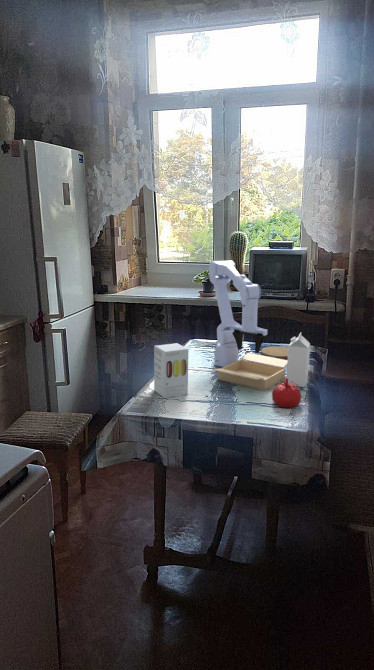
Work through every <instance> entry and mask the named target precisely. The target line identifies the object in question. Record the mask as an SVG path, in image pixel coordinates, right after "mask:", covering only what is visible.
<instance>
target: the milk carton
mask: <svg viewBox="0 0 374 670" xmlns="http://www.w3.org/2000/svg"><path fill="white" fill-rule="evenodd" d="M310 347H311V343H310V342H309V340H308V339H306V338H305V337H304V336H303V335H302V332H300V333H299V334H298V336H297V337H296V336H293V337H292V338H290V343H289V345H288V361H287V365H286V378H288V383H289V382H291V381H292V382H291V383H290V384H293V385H295V386H296V387H302V388H306V387H307V384H308V379H309V366H310V365H309V364H310V349H311V348H310ZM293 382H294V383H293ZM297 384H298V385H297Z"/></svg>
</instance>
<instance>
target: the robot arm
mask: <svg viewBox="0 0 374 670" xmlns="http://www.w3.org/2000/svg"><path fill="white" fill-rule="evenodd" d="M208 265H209V266H208V271H207V272H208V274H209V275H208V276H209V280H210V283H211V284H213V286H214V291H215V296H216V301H217V307H218V311H219V317H220V320H221V323H220V324H219V325H218V326H217V328H216V339H217V342H218V343H217V344H216V345H215V349H214V363H213V366H216V367H221V368H223V367H225V366H228V365H230V364H232V363H234V362H236V361H239V354H240V350H242V349H243V341H244V337H245V335H244V334H245V333H249V334H255V335H254V336H253V338H254V343H255V345H254V354H258V353H260V352H261V350H260V349H261V346H262V344H263V342H264V340H265V338H266V336H267V335H268V329H266V328H261V327H258V309H259V308H258V307H259V303H258V302H259V300H260V298H261V297H262V289H261V285H260V284H258V283H252V281H251V280H250V279H249V278H248V277H247V276H246V274H240V273H239V271H238V270H237V268H236V263H235V262H234V261H233V260H232V259H230V260H212V261H210V262H209V264H208ZM231 281H232V284H233V287H235V288H236V290H237V291H238V292H239V297H240V302H241V305H242V309H241V311H242V312H241V324H240V323H239V322H237V321H236V320H234V315H233V310H232V305H231V302H230V298H229V297H230V296H229V291H228V288H227V284H228V283H230V282H231Z"/></svg>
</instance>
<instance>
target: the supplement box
mask: <svg viewBox="0 0 374 670" xmlns="http://www.w3.org/2000/svg"><path fill="white" fill-rule="evenodd" d="M153 350H154V353H153V354H154V356H153V358H154V361H153V367H154V369H153V370H154V373H153V374H154V375H153V376H154V378H153V380H154V381H153V382H154V383H153V391H154V392H155V393H157V394H158V395H160V396H161V397H162V398H164V399H168V398H175V397H180V396H181V397H182V396H185V395H186V396H187V395H188V394H189V348H187V347H186V346H184V345H181V344H179V343H177V342H176V343H175V342H174V343H166V344H158V345H157V344H156V345H154V346H153Z"/></svg>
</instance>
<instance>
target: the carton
mask: <svg viewBox="0 0 374 670" xmlns="http://www.w3.org/2000/svg"><path fill="white" fill-rule="evenodd" d="M221 369H225V370H230V371H234V372H239V373H244V374H248V375H253V376H257V377H262V378H264V379H261V380H254V379H250V378H245V377H241V376H236V375H232V374H228V373H223V372H219V371H217V380H218V381H223V382H226V383H231V384H235V385H238V386H243V387H248V388H251V389H256V390H261V391H267V390H269V389H271V388H272V387H273V386H275V384H277V385H278V383H279V384H280V382H282V381H285V378H286V368H285V367H284V368H280V367H275V366H270V365H265V364H260V363H256V362H251V361H246V360H241V359H238V361H236V362H234V363H232V364H230V365H228V366H225V367H221ZM281 380H282V381H281Z"/></svg>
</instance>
